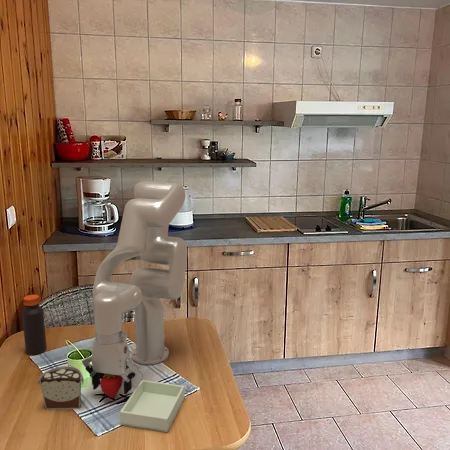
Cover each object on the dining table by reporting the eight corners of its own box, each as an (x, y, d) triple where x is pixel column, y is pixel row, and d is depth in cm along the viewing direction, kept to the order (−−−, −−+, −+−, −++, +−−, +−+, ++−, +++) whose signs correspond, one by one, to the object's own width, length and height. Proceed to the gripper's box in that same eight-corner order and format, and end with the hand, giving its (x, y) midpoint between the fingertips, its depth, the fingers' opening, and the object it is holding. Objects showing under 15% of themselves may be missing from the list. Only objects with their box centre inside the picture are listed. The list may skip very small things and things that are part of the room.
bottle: (27, 357, 152) (21, 302, 148) (24, 348, 158) (19, 295, 153) (48, 352, 156) (43, 298, 151) (44, 344, 161) (40, 292, 157)
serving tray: (142, 391, 134) (141, 380, 133) (184, 398, 131) (184, 385, 130) (120, 425, 119) (119, 411, 118) (167, 432, 117) (167, 419, 116)
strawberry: (96, 402, 129) (94, 371, 126) (111, 388, 135) (109, 358, 133) (113, 407, 127) (112, 376, 124) (128, 392, 133) (126, 362, 131)
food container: (90, 395, 132) (88, 365, 130) (84, 408, 126) (82, 377, 124) (48, 396, 131) (45, 365, 129) (40, 409, 125) (37, 377, 123)
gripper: (143, 332, 128) (144, 385, 132) (87, 326, 132) (91, 378, 136) (132, 345, 121) (134, 401, 125) (74, 338, 124) (78, 392, 128)
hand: (112, 389), depth 130 cm, fingers open, 9 cm apart
